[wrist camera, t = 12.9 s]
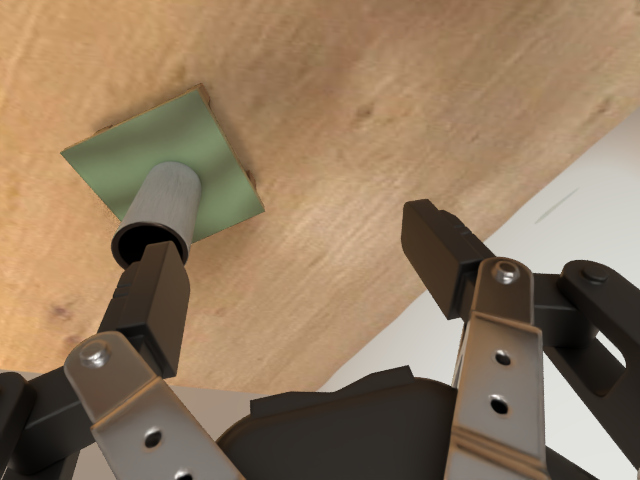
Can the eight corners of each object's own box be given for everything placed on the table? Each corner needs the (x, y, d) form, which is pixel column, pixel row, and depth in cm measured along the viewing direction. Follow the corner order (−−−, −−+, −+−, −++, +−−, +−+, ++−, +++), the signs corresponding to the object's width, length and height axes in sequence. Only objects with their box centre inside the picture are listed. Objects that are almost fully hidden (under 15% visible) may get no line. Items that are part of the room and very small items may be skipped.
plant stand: (90, 128, 33) (59, 152, 27) (203, 75, 32) (196, 89, 26) (166, 224, 40) (154, 260, 34) (260, 182, 39) (265, 211, 33)
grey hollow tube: (196, 158, 29) (179, 218, 21) (206, 205, 32) (195, 275, 23) (140, 162, 28) (99, 225, 20) (154, 210, 31) (123, 284, 23)
